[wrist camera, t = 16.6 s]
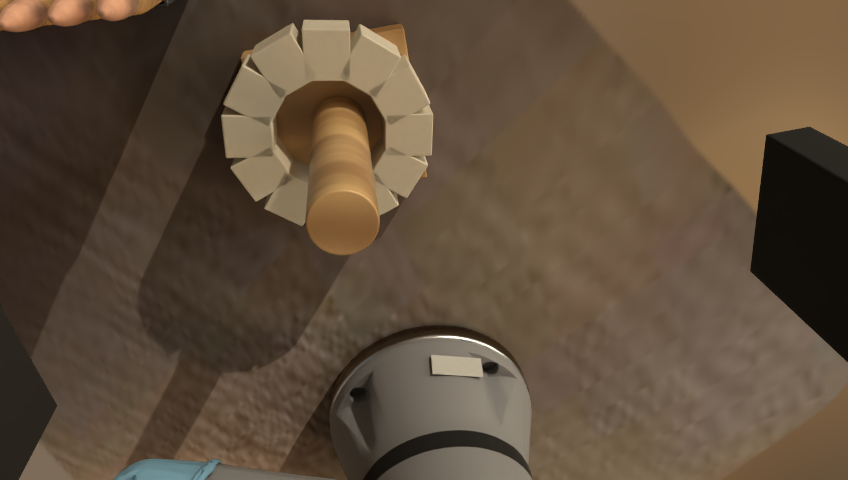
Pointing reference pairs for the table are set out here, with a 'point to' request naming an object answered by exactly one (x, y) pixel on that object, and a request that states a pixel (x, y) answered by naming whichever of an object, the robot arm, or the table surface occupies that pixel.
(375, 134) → the post stand
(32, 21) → the ammunition clip
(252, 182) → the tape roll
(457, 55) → the table surface
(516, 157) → the table surface
